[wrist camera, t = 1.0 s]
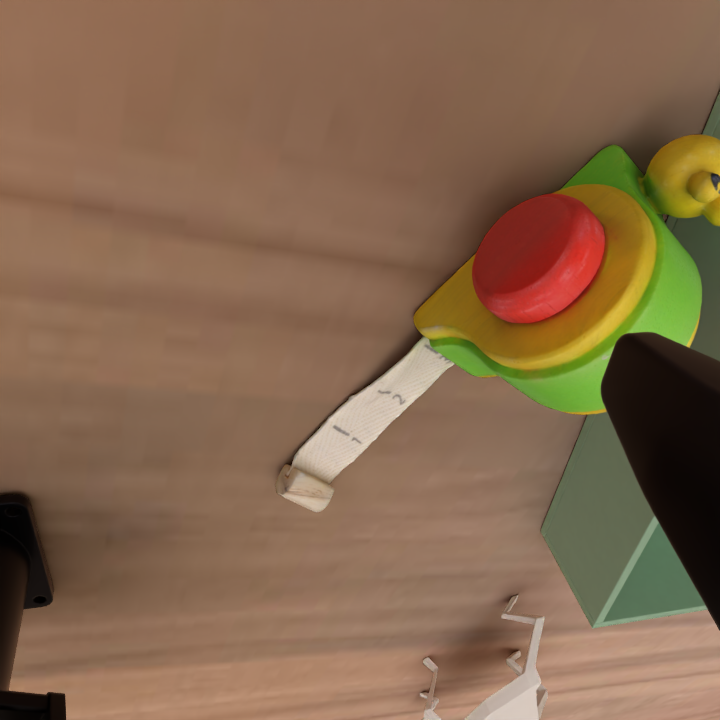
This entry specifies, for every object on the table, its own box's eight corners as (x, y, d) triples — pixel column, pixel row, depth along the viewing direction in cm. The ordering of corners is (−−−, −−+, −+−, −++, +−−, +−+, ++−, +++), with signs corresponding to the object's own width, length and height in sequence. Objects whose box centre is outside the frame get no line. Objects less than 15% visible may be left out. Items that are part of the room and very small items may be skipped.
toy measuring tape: (717, 178, 24) (868, 273, 18) (343, 507, 30) (379, 645, 25) (629, 49, 20) (786, 122, 15) (226, 453, 26) (240, 601, 21)
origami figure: (521, 681, 44) (554, 760, 41) (399, 705, 43) (421, 790, 39) (568, 570, 37) (614, 653, 33) (424, 593, 35) (455, 684, 32)
